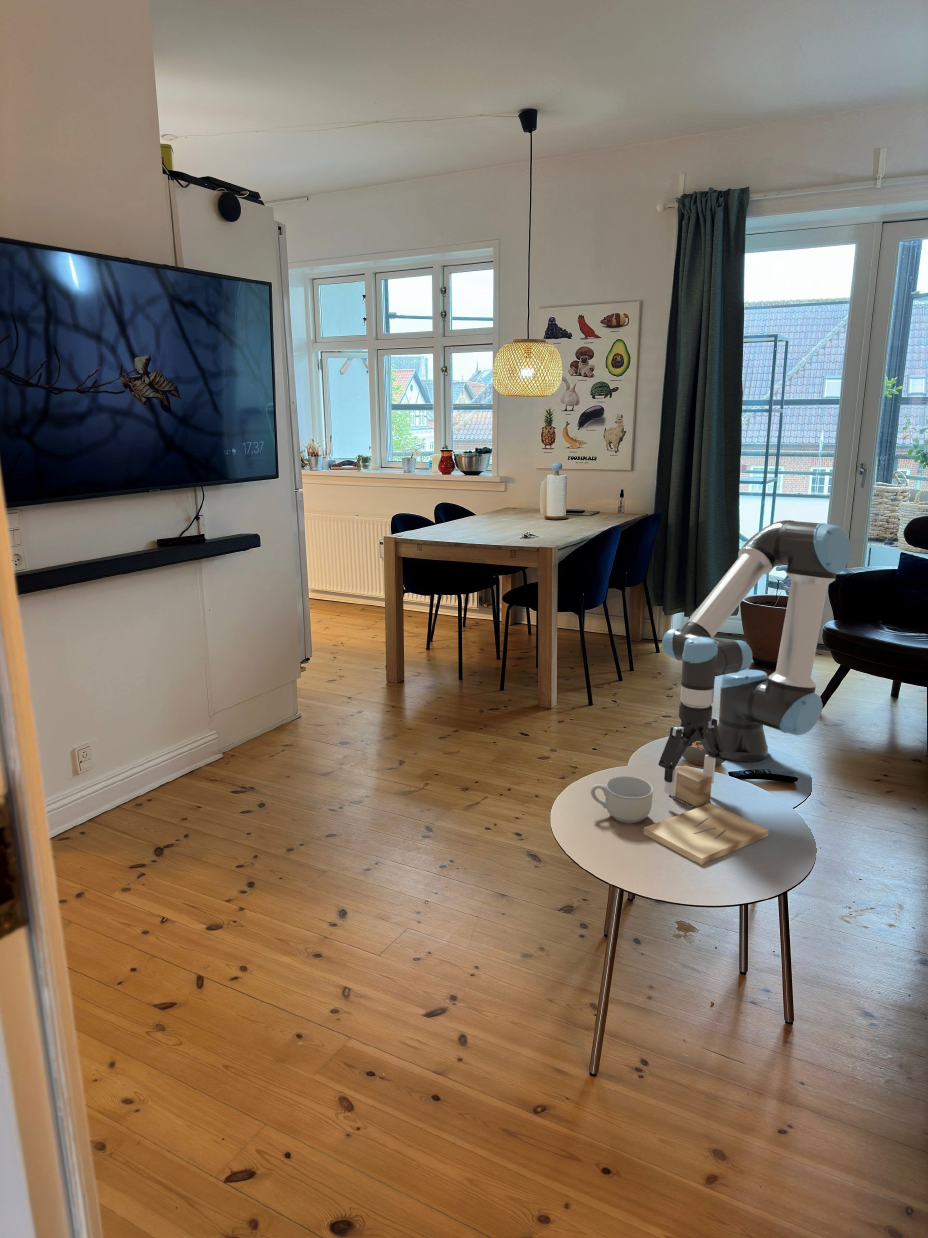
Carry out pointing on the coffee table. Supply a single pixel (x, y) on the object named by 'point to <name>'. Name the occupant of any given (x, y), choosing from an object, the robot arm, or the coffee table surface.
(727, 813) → the pine board
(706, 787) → the brown wooden block
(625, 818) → the teacup
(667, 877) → the coffee table surface
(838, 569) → the robot arm
